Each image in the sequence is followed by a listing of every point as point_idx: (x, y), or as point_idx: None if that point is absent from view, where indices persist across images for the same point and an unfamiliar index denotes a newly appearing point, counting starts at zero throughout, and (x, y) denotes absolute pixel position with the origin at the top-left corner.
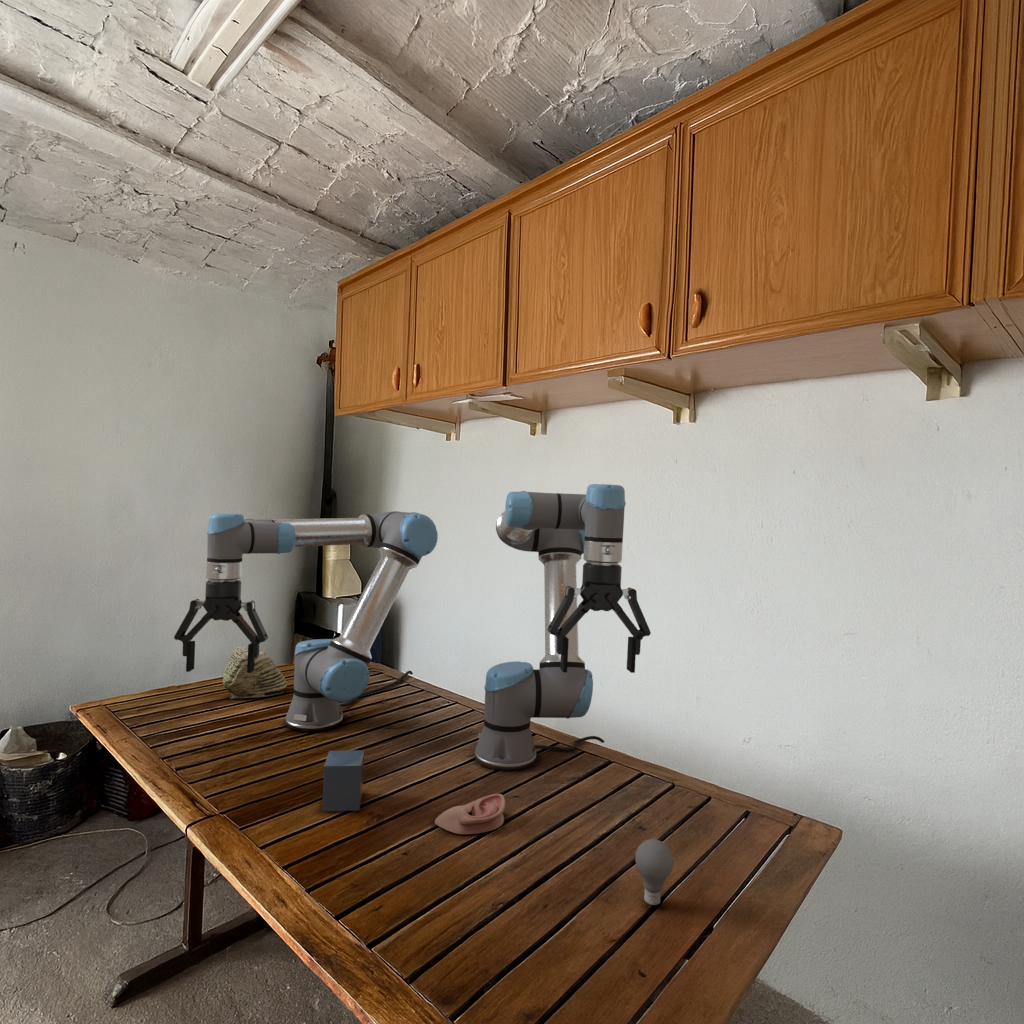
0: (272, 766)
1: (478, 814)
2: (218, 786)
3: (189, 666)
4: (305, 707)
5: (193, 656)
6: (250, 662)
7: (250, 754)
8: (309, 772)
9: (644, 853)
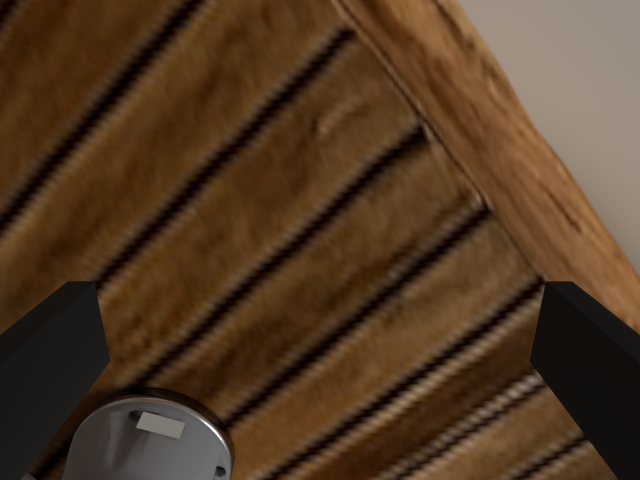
0: (151, 159)
1: None
2: (254, 7)
3: (569, 303)
4: (136, 454)
5: (593, 417)
6: (11, 327)
7: (249, 242)
8: (22, 117)
9: None
